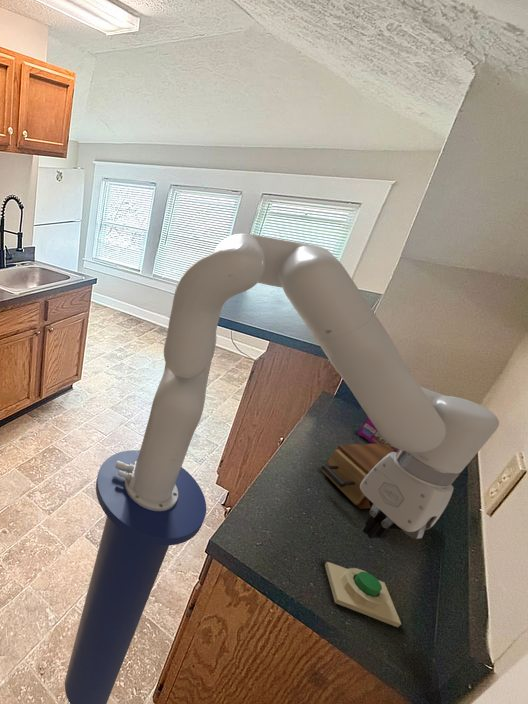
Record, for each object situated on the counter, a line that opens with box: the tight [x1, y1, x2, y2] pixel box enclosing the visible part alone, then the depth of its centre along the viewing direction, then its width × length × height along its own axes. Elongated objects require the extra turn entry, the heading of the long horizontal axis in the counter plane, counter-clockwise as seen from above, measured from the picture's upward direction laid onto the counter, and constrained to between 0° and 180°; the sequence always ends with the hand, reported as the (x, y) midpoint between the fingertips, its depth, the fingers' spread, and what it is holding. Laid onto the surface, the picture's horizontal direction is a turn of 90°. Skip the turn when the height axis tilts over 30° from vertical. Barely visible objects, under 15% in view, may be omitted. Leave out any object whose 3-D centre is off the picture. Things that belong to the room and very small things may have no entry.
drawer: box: [320, 449, 367, 506], centre depth 95 cm, size 17×10×8 cm, turn 99°
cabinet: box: [335, 443, 393, 510], centre depth 95 cm, size 14×12×10 cm
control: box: [324, 561, 402, 628], centre depth 72 cm, size 10×8×3 cm
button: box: [354, 571, 382, 596], centre depth 71 cm, size 4×4×2 cm
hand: (372, 534), depth 73 cm, fingers closed
